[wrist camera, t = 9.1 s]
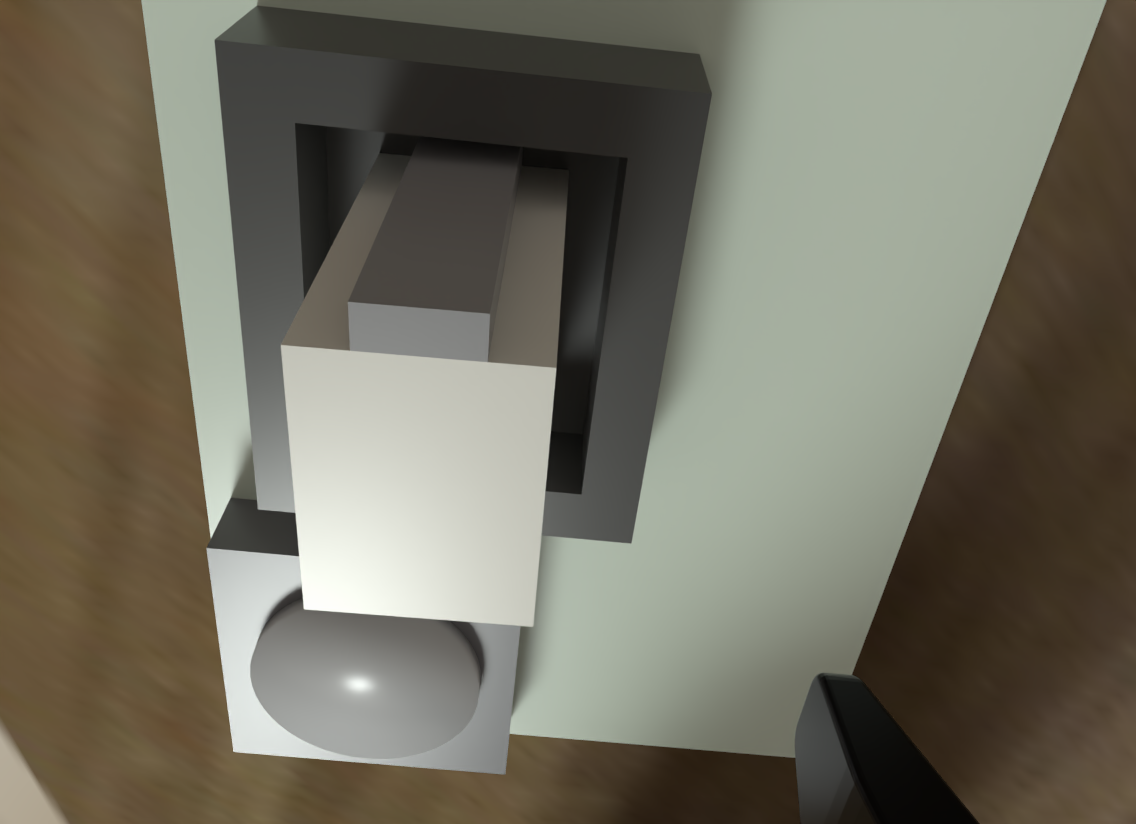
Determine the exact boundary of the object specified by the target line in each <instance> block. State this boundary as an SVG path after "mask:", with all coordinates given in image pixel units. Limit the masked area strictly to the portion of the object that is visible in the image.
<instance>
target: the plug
mask: <svg viewBox="0 0 1136 824" xmlns="http://www.w3.org/2000/svg"><path fill="white" fill-rule="evenodd" d="M522 154H523V147H519V146H509V145H500V144H490V143H481V142H471V141H462V140H452V139H443V138H433V137H424V136H420V137H419V140H418V142H417V144H416V147H415V149H414V151H413V153H412V156H406V155H394V154H383V153H379V155H378V157H377V159H376V161H375V163H374V165H373V166H372V168H371V170H370V172H369V174H368V176H367V178H366V180H365V182H364V184H363V186H362V188H361V190H360V192H359V194H358V196H357V198H356V200H355V201H354V203H353V205H352V207H351V209H350V211H349V213H348V215H347V217H346V219H345V221H344V223H343V225H342V227H341V229H340V231H339V233H338V235H337V236H336V238H335V240H334V242H333V244H332V246H331V248H330V250H329V252H328V254H327V256H326V258H325V260H324V262H323V264H322V266H321V268H320V269H319V271H318V273H317V275H316V277H315V279H314V281H313V283H312V285H311V287H310V289H309V291H308V293H307V295H306V297H305V299H304V301H303V303H302V304H301V306H300V308H299V310H298V312H297V314H296V316H295V318H294V320H293V322H292V324H291V326H290V328H289V330H288V332H287V334H286V336H285V338H284V339H283V341H282V343H281V355H282V366H283V377H284V389H285V400H286V411H287V423H288V434H289V445H290V457H291V468H292V479H293V491H294V502H295V513H296V525H297V536H298V547H299V559H300V570H301V581H302V593H303V604H304V609H306V610H319V611H332V612H346V613H359V614H372V615H385V616H398V617H411V618H424V619H437V620H450V621H463V622H477V623H490V624H503V625H516V626H529V627H533V624H534V613H535V601H536V590H537V579H538V568H539V557H540V546H541V535H542V523H543V512H544V501H545V490H546V479H547V468H548V456H549V445H550V434H551V423H552V412H553V401H554V390H555V378H556V367H557V351H558V336H559V320H560V304H561V288H562V273H563V257H564V241H565V225H566V210H567V194H568V178H569V170H564V169H553V168H541V167H530V166H522Z"/></svg>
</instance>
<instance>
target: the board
mask: <svg viewBox="0 0 1136 824" xmlns="http://www.w3.org/2000/svg"><path fill="white" fill-rule="evenodd" d="M1105 3H1106V0H142V8H143V16H144V23H145V31H146V39H147V47H148V54H149V62H150V70H151V78H152V85H153V93H154V101H155V109H156V116H157V124H158V132H159V140H160V147H161V155H162V163H163V171H164V178H165V186H166V194H167V202H168V209H169V217H170V225H171V233H172V240H173V248H174V256H175V264H176V271H177V279H178V287H179V295H180V302H181V310H182V318H183V326H184V334H185V341H186V349H187V357H188V365H189V372H190V380H191V388H192V396H193V403H194V411H195V419H196V427H197V434H198V442H199V450H200V458H201V465H202V473H203V481H204V489H205V496H206V504H207V512H208V520H209V527H210V535H211V540H210V542H209V544H208V546H207V555H208V562H209V570H210V578H211V585H212V593H213V600H214V608H215V615H216V623H217V630H218V638H219V645H220V653H221V660H222V668H223V675H224V683H225V690H226V698H227V705H228V713H229V720H230V728H231V735H232V743H233V750H234V752H241V753H253V754H265V755H277V756H289V757H301V758H313V759H325V760H337V761H349V762H361V763H373V764H385V765H397V766H409V767H421V768H433V769H445V770H457V771H469V772H481V773H493V774H505V771H506V762H507V752H508V742H509V734H519V735H531V736H543V737H555V738H567V739H578V740H590V741H602V742H614V743H626V744H637V745H649V746H661V747H673V748H685V749H696V750H708V751H720V752H732V753H744V754H755V755H767V756H779V757H791V758H795V731H796V726H797V723H798V720H799V717H800V714H801V711H802V708H803V705H804V702H805V700H806V697H807V694H808V691H809V688H810V685H811V682H812V680H813V679H814V677H815V676H816V675H817V674H819V673H823V672H824V673H835V674H847V675H852V673H853V670H854V668H855V665H856V663H857V660H858V657H859V655H860V652H861V649H862V647H863V644H864V641H865V639H866V636H867V633H868V631H869V628H870V625H871V623H872V620H873V617H874V615H875V612H876V610H877V607H878V604H879V602H880V599H881V596H882V594H883V591H884V588H885V586H886V583H887V580H888V578H889V575H890V572H891V570H892V567H893V564H894V562H895V559H896V557H897V554H898V551H899V549H900V546H901V543H902V541H903V538H904V535H905V533H906V530H907V527H908V525H909V522H910V519H911V517H912V514H913V512H914V509H915V506H916V504H917V501H918V498H919V496H920V493H921V490H922V488H923V485H924V482H925V480H926V477H927V474H928V472H929V469H930V466H931V464H932V461H933V459H934V456H935V453H936V451H937V448H938V445H939V443H940V440H941V437H942V435H943V432H944V429H945V427H946V424H947V421H948V419H949V416H950V413H951V411H952V408H953V406H954V403H955V400H956V398H957V395H958V392H959V390H960V387H961V384H962V382H963V379H964V376H965V374H966V371H967V368H968V366H969V363H970V360H971V358H972V355H973V353H974V350H975V347H976V345H977V342H978V339H979V337H980V334H981V331H982V329H983V326H984V323H985V321H986V318H987V315H988V313H989V310H990V308H991V305H992V302H993V300H994V297H995V294H996V292H997V289H998V286H999V284H1000V281H1001V278H1002V276H1003V273H1004V270H1005V268H1006V265H1007V262H1008V260H1009V257H1010V255H1011V252H1012V249H1013V247H1014V244H1015V241H1016V239H1017V236H1018V233H1019V231H1020V228H1021V225H1022V223H1023V220H1024V217H1025V215H1026V212H1027V209H1028V207H1029V204H1030V202H1031V199H1032V196H1033V194H1034V191H1035V188H1036V186H1037V183H1038V180H1039V178H1040V175H1041V172H1042V170H1043V167H1044V164H1045V162H1046V159H1047V156H1048V154H1049V151H1050V149H1051V146H1052V143H1053V141H1054V138H1055V135H1056V133H1057V130H1058V127H1059V125H1060V122H1061V119H1062V117H1063V114H1064V111H1065V109H1066V106H1067V104H1068V101H1069V98H1070V96H1071V93H1072V90H1073V88H1074V85H1075V82H1076V80H1077V77H1078V74H1079V72H1080V69H1081V66H1082V64H1083V61H1084V58H1085V56H1086V53H1087V51H1088V48H1089V45H1090V43H1091V40H1092V37H1093V35H1094V32H1095V29H1096V27H1097V24H1098V21H1099V19H1100V16H1101V13H1102V11H1103V8H1104V5H1105ZM420 136H424V137H433V138H443V139H452V140H462V141H471V142H481V143H490V144H500V145H509V146H519V147H523V154H522V166H530V167H541V168H553V169H564V170H569V178H568V194H567V210H566V225H565V241H564V257H563V273H562V288H561V304H560V320H559V336H558V351H557V367H556V378H555V390H554V401H553V412H552V423H551V434H550V445H549V456H548V468H547V479H546V490H545V501H544V512H543V523H542V535H541V546H540V557H539V568H538V579H537V590H536V601H535V613H534V624H533V627H529V626H516V625H503V624H490V623H477V622H463V621H450V620H437V619H424V618H411V617H398V616H385V615H372V614H359V613H346V612H332V611H319V610H306V609H304V604H303V593H302V581H301V570H300V559H299V547H298V536H297V525H296V513H295V502H294V491H293V479H292V468H291V457H290V445H289V434H288V423H287V411H286V400H285V389H284V377H283V366H282V355H281V343H282V341H283V339H284V338H285V336H286V334H287V332H288V330H289V328H290V326H291V324H292V322H293V320H294V318H295V316H296V314H297V312H298V310H299V308H300V306H301V304H302V303H303V301H304V299H305V297H306V295H307V293H308V291H309V289H310V287H311V285H312V283H313V281H314V279H315V277H316V275H317V273H318V271H319V269H320V268H321V266H322V264H323V262H324V260H325V258H326V256H327V254H328V252H329V250H330V248H331V246H332V244H333V242H334V240H335V238H336V236H337V235H338V233H339V231H340V229H341V227H342V225H343V223H344V221H345V219H346V217H347V215H348V213H349V211H350V209H351V207H352V205H353V203H354V201H355V200H356V198H357V196H358V194H359V192H360V190H361V188H362V186H363V184H364V182H365V180H366V178H367V176H368V174H369V172H370V170H371V168H372V166H373V165H374V163H375V161H376V159H377V157H378V155H379V153H383V154H394V155H406V156H412V153H413V151H414V149H415V147H416V144H417V142H418V140H419V137H420Z"/></svg>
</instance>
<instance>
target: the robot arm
mask: <svg viewBox="0 0 1136 824" xmlns="http://www.w3.org/2000/svg"><path fill="white" fill-rule="evenodd" d="M795 759H796V772H797V785H798V798H799V811H800V824H979V823H978V821H977V820H976V819H975V818H974V816H973V815H972V814H971V813H970V812H969V810H968V809H967V808H966V807H965V805H964V804H963V803H962V802H961V801H960V799H959V798H958V797H957V796H956V794H955V793H954V792H953V791H952V790H951V788H950V787H949V786H948V785H947V783H946V782H945V781H944V780H943V779H942V777H941V776H940V775H939V774H938V772H937V771H936V770H935V769H934V768H933V766H932V765H931V764H930V763H929V761H928V760H927V759H926V758H925V757H924V755H923V754H922V753H921V752H920V750H919V749H918V748H917V747H916V746H915V744H914V743H913V742H912V741H911V739H910V738H909V737H908V736H907V735H906V733H905V732H904V731H903V730H902V728H901V727H900V726H899V725H898V724H897V722H896V721H895V720H894V719H893V717H892V716H891V715H890V714H889V713H888V711H887V710H886V709H885V708H884V706H883V705H882V704H881V703H880V702H879V700H878V699H877V698H876V697H875V695H874V694H873V693H872V692H871V691H870V689H869V688H868V687H867V686H866V684H865V683H864V682H863V681H862V680H861V679H859V678H858V677H856V676H853V675H847V674H835V673H824V672H823V673H819V674H817V675H816V676H815V677H814V679H813V680H812V682H811V685H810V688H809V691H808V694H807V697H806V700H805V702H804V705H803V708H802V711H801V714H800V717H799V720H798V723H797V726H796V731H795Z"/></svg>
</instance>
